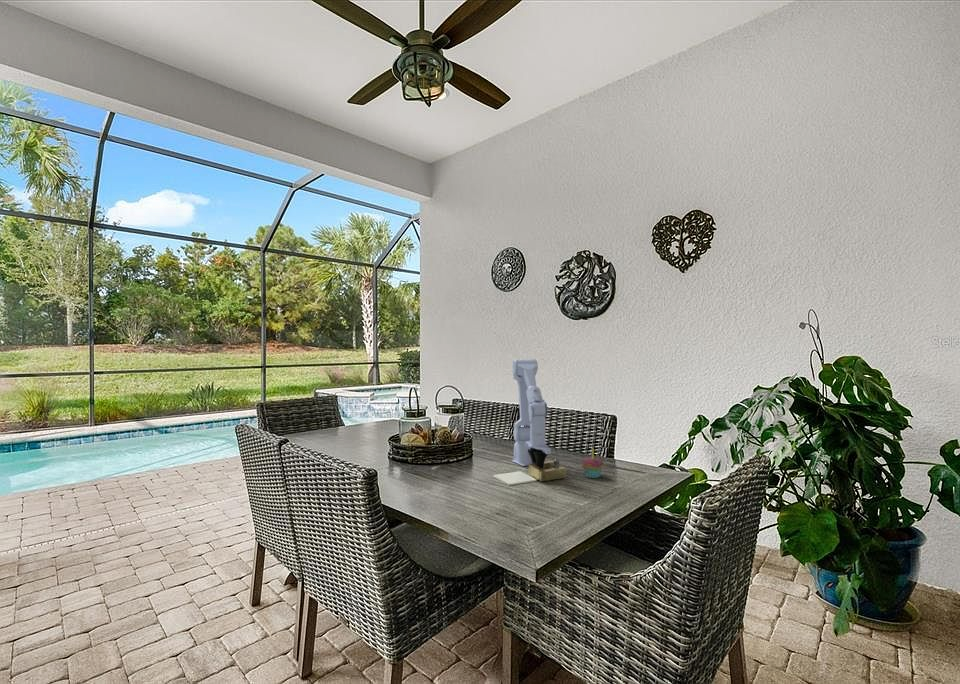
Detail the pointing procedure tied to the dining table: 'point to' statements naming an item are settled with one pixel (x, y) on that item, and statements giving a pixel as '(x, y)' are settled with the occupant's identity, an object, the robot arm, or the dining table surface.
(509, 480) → the coaster
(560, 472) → the c link
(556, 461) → the post
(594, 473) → the cupcake
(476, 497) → the dining table surface
